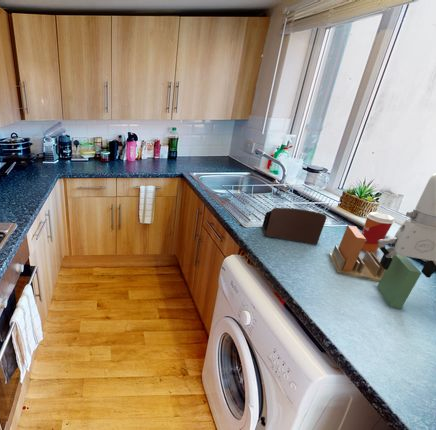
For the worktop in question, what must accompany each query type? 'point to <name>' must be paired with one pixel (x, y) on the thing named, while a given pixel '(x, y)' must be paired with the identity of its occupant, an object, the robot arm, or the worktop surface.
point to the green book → (398, 281)
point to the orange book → (351, 246)
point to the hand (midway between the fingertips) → (404, 270)
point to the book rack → (359, 266)
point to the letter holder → (294, 224)
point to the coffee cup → (375, 230)
